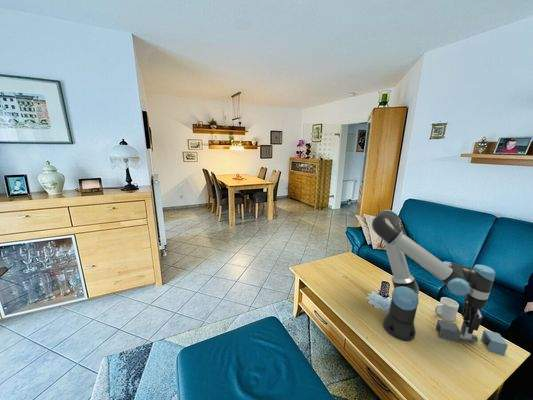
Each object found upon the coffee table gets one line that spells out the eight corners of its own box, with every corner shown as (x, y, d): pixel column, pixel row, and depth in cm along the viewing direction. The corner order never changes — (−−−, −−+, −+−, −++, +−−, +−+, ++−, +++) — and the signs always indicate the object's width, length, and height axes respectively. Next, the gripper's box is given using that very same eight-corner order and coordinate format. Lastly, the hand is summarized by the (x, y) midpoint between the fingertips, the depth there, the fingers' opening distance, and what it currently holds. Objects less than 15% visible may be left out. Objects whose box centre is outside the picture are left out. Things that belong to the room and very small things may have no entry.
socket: (488, 351, 109) (491, 340, 107) (480, 339, 115) (484, 329, 113) (504, 355, 107) (507, 344, 105) (495, 343, 113) (498, 333, 111)
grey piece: (441, 334, 116) (445, 320, 114) (439, 330, 119) (442, 315, 117) (476, 343, 111) (481, 328, 109) (473, 338, 114) (478, 323, 112)
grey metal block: (439, 338, 116) (442, 328, 114) (435, 328, 121) (437, 319, 120) (458, 342, 113) (461, 332, 111) (453, 333, 119) (455, 323, 117)
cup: (458, 321, 127) (462, 306, 124) (439, 322, 126) (443, 307, 124) (446, 311, 135) (450, 297, 132) (428, 311, 134) (431, 297, 132)
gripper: (496, 308, 99) (483, 349, 105) (478, 287, 114) (467, 325, 120) (475, 304, 102) (463, 344, 108) (460, 284, 117) (450, 321, 122)
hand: (465, 334), depth 114 cm, fingers closed on grey piece, 3 cm apart
